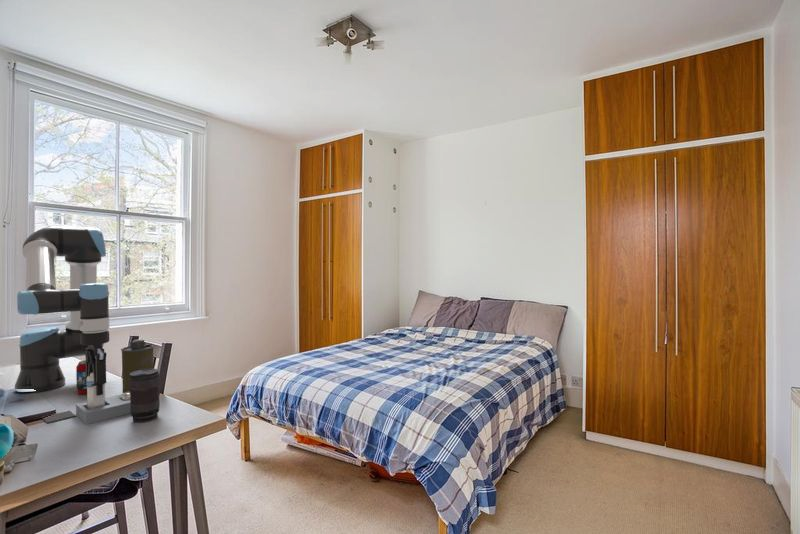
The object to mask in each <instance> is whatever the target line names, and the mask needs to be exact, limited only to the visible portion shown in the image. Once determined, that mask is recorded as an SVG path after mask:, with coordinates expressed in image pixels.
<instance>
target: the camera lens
mask: <svg viewBox="0 0 800 534" xmlns="http://www.w3.org/2000/svg"><path fill="white" fill-rule="evenodd" d="M129 389H130V410H131V413H130V416H131V417H132V421H133V422H135V423H146V422H150V421H153V420H156V419H157V418H158V416H159V414H158V413H159V412H160V402H161V401H160V395H161V391H160V372H159V369H158V368H153V369H143V370H138V371H134V372H132V373H130V377H129Z"/></svg>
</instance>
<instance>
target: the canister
mask: <svg viewBox="0 0 800 534" xmlns="http://www.w3.org/2000/svg"><path fill="white" fill-rule="evenodd" d="M129 344H130V346H125V347H122V348H121V349H120V351H121V371H122V372H121V375H122V378H121V379H122V394H123V393H125V392H130V389H129V377H130V373H132V372H134V371H138V370H143V369H154V348H155V347H154V345H153V344H152V343H146V342H145V340H144V339H135V340H133V341H129Z"/></svg>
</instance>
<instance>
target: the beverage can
mask: <svg viewBox="0 0 800 534" xmlns="http://www.w3.org/2000/svg"><path fill="white" fill-rule="evenodd" d="M75 370H76V373H75V377H76V393H77V394H79V395H82V396H83V395H87V379H86V359H85V360H80V361H79V362H78V364H77V365H76V368H75Z"/></svg>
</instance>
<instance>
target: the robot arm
mask: <svg viewBox="0 0 800 534" xmlns="http://www.w3.org/2000/svg"><path fill="white" fill-rule="evenodd" d="M105 244H106V243H105V239H104V233H103V232H102V230H101V229H100V228H96V227H87V226H86V227H83V226H82V227H81V226H53V225H52V226H47V227H42V228H40V229H38V230H36V231H35V232H33V233H31V234H30V235H29V236H28V237H27V238H26V239H25V240H24V242H23V243H22V249H21V250H22V251H21V252H22V255H23V257H24V258H25V290H22V291H18V292H17V295H16V304H17V306H16V307H17V313H18V314H19V315H43V314H55V313H56V314H57V313H67V312H69V313H70V315H69V316H70V318H69V319H70V321H68V322H67V323H66V324H65V329H60V328H59V327H58V326H47V327H41V328H38V329H37V328H36V329H33V330H29V331H26V332H23V333H22V334H21V335H20V336H19V345H18V346H19V358H20V360H19V364H20V365H19V368H20V369H19V374H18V376H17V378H16V382H15V384H14V390H15V389H34V390H36V391H38V392H45V391H46V392H47V391H50V390H53V389H57V388H60V387H62V386H64V385H66V377H65V375H64V372H63V370H62V369H61V366H60V359H67V358H68V359H69V358H76V357H84V356H85V360H86V379H87V377H88V376H90V373H92V372H93V376H94V384H92V385H91V386H93V406H98V405H102V404H104V383H105V384H107V352H105V348H104V344H106V343H109V342H110V331H109V330H110V315H109V306H110V304H109V297H110V296H109V295H110V292H109V284H107V283H104V282H97V275H98V273H97V271H98V269H97V267H98V266H97V265H98V264H100V263H101V262H102V258H104V257H106V255H107V253H106V252H107V250H106V245H105ZM56 257H64V262H66V263H67V264H68V265H69V288H66V289H65V288H63V289H62V288H61V289H58V288H57V283H56V268H55V258H56ZM38 392H37V393H38Z"/></svg>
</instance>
